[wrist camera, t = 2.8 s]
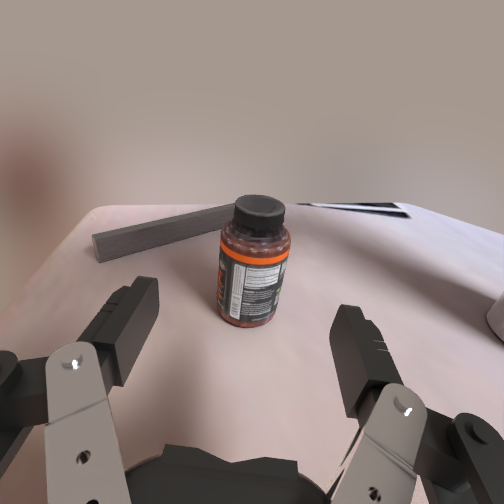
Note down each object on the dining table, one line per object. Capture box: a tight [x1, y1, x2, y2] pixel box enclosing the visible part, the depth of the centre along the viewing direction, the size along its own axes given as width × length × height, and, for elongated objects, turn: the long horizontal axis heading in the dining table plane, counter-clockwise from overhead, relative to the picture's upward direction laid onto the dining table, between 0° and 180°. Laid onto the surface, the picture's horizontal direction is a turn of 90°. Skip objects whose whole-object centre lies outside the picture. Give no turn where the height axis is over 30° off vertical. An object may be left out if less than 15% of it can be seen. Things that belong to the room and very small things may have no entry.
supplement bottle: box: [217, 195, 291, 328], centre depth 25 cm, size 6×6×11 cm
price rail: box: [92, 203, 235, 263], centre depth 37 cm, size 20×2×3 cm, turn 131°
